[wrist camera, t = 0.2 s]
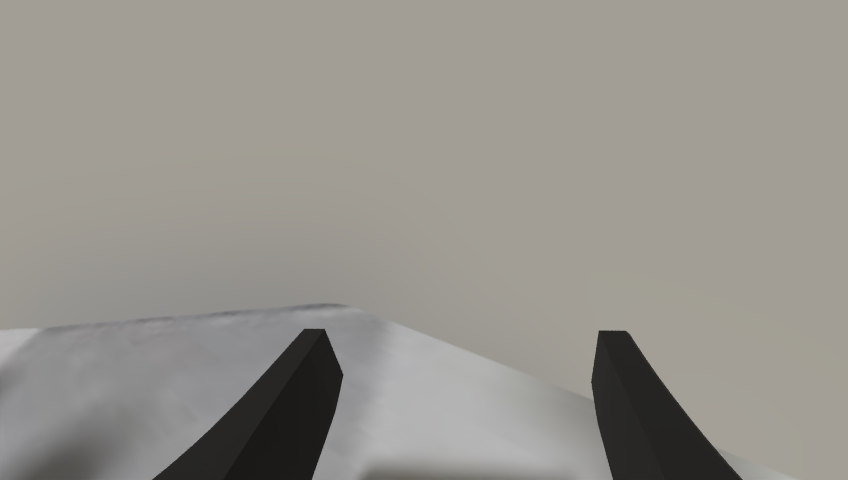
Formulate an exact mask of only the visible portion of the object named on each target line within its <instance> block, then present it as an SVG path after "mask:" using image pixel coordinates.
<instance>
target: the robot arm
mask: <svg viewBox="0 0 848 480" xmlns="http://www.w3.org/2000/svg"><path fill="white" fill-rule="evenodd" d="M342 379H343V373H342V370H341V368H340V365H339V363H338V361H337V358H336V356H335V353H334V351H333V348H332V346H331V343H330V341H329V338H328V336H327V334H326V331H325V329H304V330H303V331H302V332H301V333H300V334H299V335H298V336H297V338H296V339H295V340H294V341H293V342H292V343H291V344H290V345H289V346H288V347H287V349H286V350H285V351H284V352H283V353H282V354H281V355H280V356H279V358H278V359H277V360H276V361H275V362H274V363H273V364H272V365H271V366H270V368H269V369H268V370H267V371H266V372H265V373H264V374H263V375H262V376H261V377H260V378H259V380H258V381H257V382H256V383H255V384H254V385H253V386H252V387H251V388H250V389H249V390H248V391H247V392H246V394H245V395H244V396H243V397H242V398H241V399H240V400H239V401H238V402H237V403H236V404H235V405H234V406H233V407H232V408H231V409H230V410H229V411H228V412H227V413H226V414H225V415H224V416H223V417H222V418H221V419H220V420H219V421H218V422H217V423H216V424H215V425H214V426H213V427H212V428H211V429H210V430H209V431H208V432H207V433H206V434H204V435H203V436H202V437H201V438H200V439H199V440H198V441H197V442H196V443H195V444H194V445H193V446H191V447H190V448H189V449H188V450H187V451H186V452H185V453H183V454H182V455H181V456H180V457H179V458H178V459H177V460H175V461H174V462H173V463H172V464H171V465H170V466H168V467H167V468H166V469H165V470H164V471H162V472H161V473H160V474H159V475H157V476H156V477H155V478H154V479H152V480H312V477H313V474H314V471H315V468H316V466H317V463H318V460H319V457H320V454H321V451H322V449H323V446H324V443H325V440H326V437H327V434H328V431H329V428H330V426H331V423H332V420H333V417H334V414H335V411H336V406H337V402H338V398H339V393H340V388H341V384H342ZM591 383H592V390H593V396H594V403H595V409H596V415H597V421H598V425H599V429H600V433H601V437H602V440H603V444H604V448H605V452H606V455H607V459H608V463H609V466H610V470H611V473H612V477H613V480H742V479H741V478H740V476H739V475H738V474H737V473H736V472H735V471H734V470H733V469H732V467H731V466H730V465H729V464H728V463H727V462H726V461H725V460H724V458H723V457H722V456H721V455H720V454H719V453H718V451H717V450H716V449H715V448H714V447H713V446H712V444H711V443H710V442H709V441H708V440H707V439H706V437H705V436H704V435H703V434H702V432H701V431H700V430H699V429H698V428H697V426H696V425H695V424H694V423H693V421H692V420H691V419H690V418H689V416H688V415H687V414H686V413H685V411H684V410H683V409H682V408H681V406H680V405H679V403H678V402H677V401H676V400H675V399H674V397H673V396H672V394H671V393H670V392H669V390H668V389H667V388H666V386H665V385H664V384H663V382H662V381H661V380H660V378H659V377H658V376H657V374H656V373H655V371H654V370H653V368H652V367H651V366H650V364H649V363H648V361H647V360H646V358H645V357H644V355H643V354H642V352H641V351H640V349H639V348H638V346H637V345H636V343H635V342H634V340H633V339H632V337H631V336H630V334H629V333H628V332H626V331H599V334H598V341H597V347H596V354H595V360H594V367H593V374H592V381H591Z"/></svg>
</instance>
